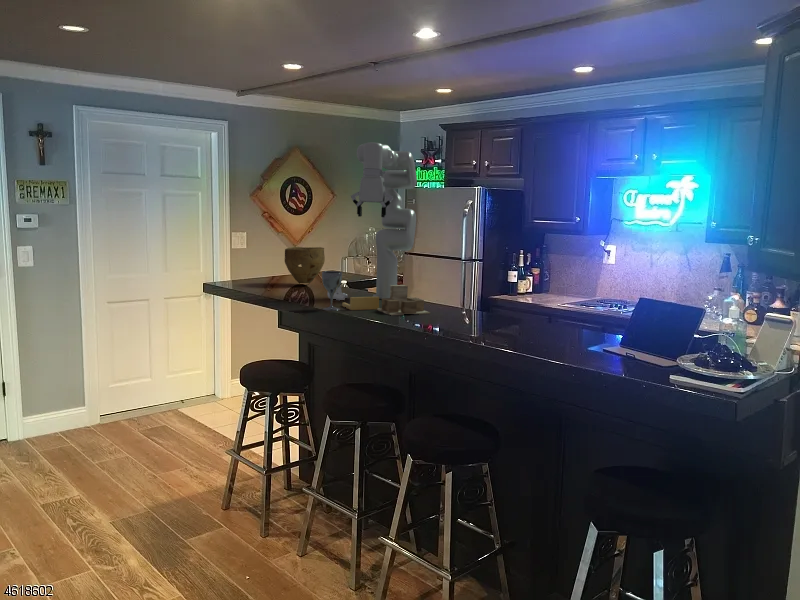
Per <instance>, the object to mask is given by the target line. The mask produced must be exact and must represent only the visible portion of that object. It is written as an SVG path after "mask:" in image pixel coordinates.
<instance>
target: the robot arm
mask: <svg viewBox="0 0 800 600" xmlns="http://www.w3.org/2000/svg"><path fill="white" fill-rule="evenodd" d="M356 158H357V159H358V162H359V163H360V164H363V171H362V177H361V179H360V182H359V183H360V185H359V191H357V192H355V193H353V194H351V195H350V197H351V200H352V201H353V203H354V204H355V206H356V214H357V216H358V217H363V207H362V205H363V203H380V204H381V212H380V213H381V215H380V216H381V225H382V226H383V228H382V229H380V230H378V231H377V232H376V234H375V244H376V245H375V246H376V283H375V284H376V285H375V287H376V288H375V293H373V294H372V297H379V300H382V298H390V285H398V266H399V265H398V264H399V262H398V257H397V256H396V254H395V253H394V251H406V252H408V251H411V250H412V249H413V248H414V244H415V235H416V228H417V227H416V226H417V215H416V212H415V210H414V209H411V208H403V207H402V206H403V198H402V197H401V195H400V194H399V193H398V192H397V191H396V190H412V189H414V188H415V187H416V185H417V183H418V182H417V179H418V176H417V171H416V165H415V164H416V163H415V159H414V156H413V154H412V153H411V151H407V150H392V149H391V147H390V146H389V145H388V144H385V143H384V144H383V143H380V142H374V141H372V142H371V141H369V142H365V143H362V144H360V145H358V146H357V149H356ZM383 169H386V170H383ZM357 197H358V200H357Z"/></svg>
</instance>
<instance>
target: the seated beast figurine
mask: <svg viewBox="0 0 800 600" xmlns="http://www.w3.org/2000/svg"><path fill="white" fill-rule="evenodd" d="M326 297H328V299H330V294H329V292H328V291H327V296H326ZM345 298H347V299H348V294H347V293H345V292H342V286H340V287H339V288H338V289H337V290H336V292H335V293H334V295H333V299H336V300H335V301H340V300H344V301H345Z"/></svg>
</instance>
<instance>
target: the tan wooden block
mask: <svg viewBox="0 0 800 600" xmlns="http://www.w3.org/2000/svg"><path fill="white" fill-rule="evenodd" d="M341 302H342V307H343V308H345V307H346V308H345V309H348V310H351V311H360V310H361V311H363V310H366V311H367V310H377V308H380V299H379V297H373V296H350V297H349V303H347V302H343V301H341Z"/></svg>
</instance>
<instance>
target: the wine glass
mask: <svg viewBox="0 0 800 600" xmlns="http://www.w3.org/2000/svg"><path fill="white" fill-rule="evenodd" d="M321 279H322V284H323V287H324V289H325V290H327V293H328V292H329V294H330V298H329V299H330V304H329V306H328V307H324V308H322V310H323V311H340V310H341V309H340V308H339V307H335V306H333V301H334V300H333V295H334V293H335V292H336V290H337V289H338V288H339V287H341V285H342V281H343V280H342V279H343V271H339V270H338V271H336V270H323V271H322V272H321Z"/></svg>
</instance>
